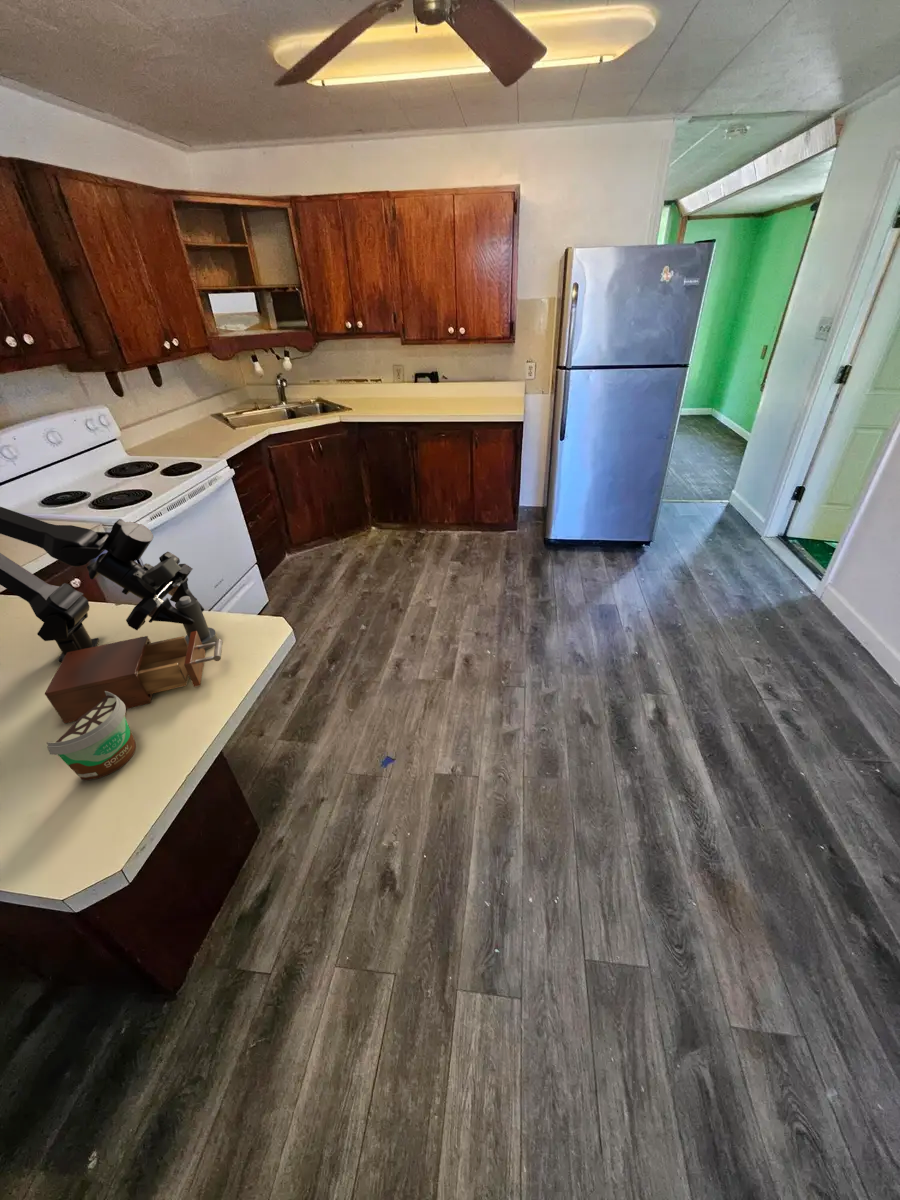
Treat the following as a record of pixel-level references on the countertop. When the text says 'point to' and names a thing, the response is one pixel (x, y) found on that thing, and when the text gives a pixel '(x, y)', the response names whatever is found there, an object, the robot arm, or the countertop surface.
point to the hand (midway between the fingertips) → (198, 617)
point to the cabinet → (98, 678)
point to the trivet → (209, 639)
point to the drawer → (175, 662)
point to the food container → (97, 740)
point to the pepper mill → (193, 616)
